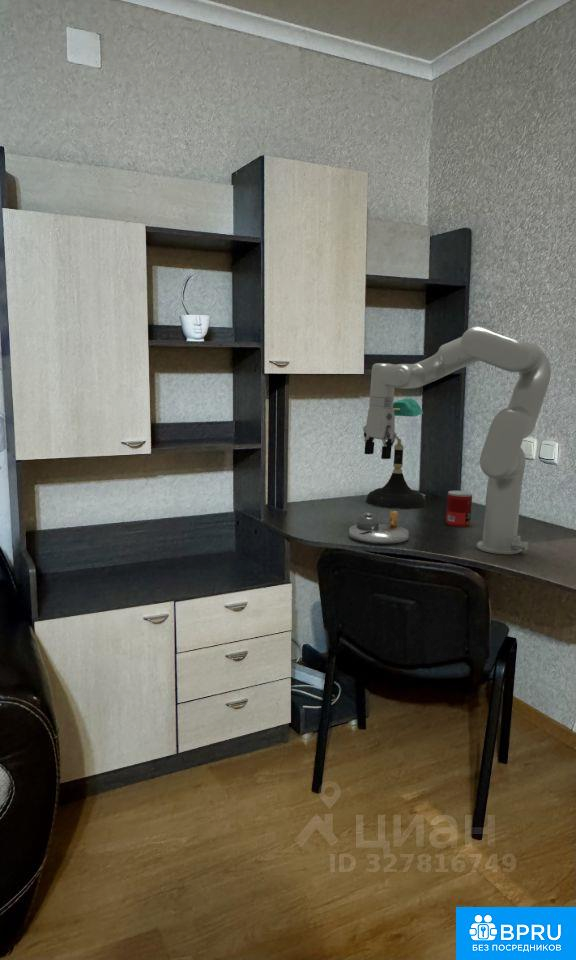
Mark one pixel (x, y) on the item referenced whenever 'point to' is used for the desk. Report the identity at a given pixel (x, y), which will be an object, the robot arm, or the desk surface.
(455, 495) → the canned food
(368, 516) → the cover
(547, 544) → the desk surface
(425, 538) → the desk surface
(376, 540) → the turntable
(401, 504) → the banker's lamp
